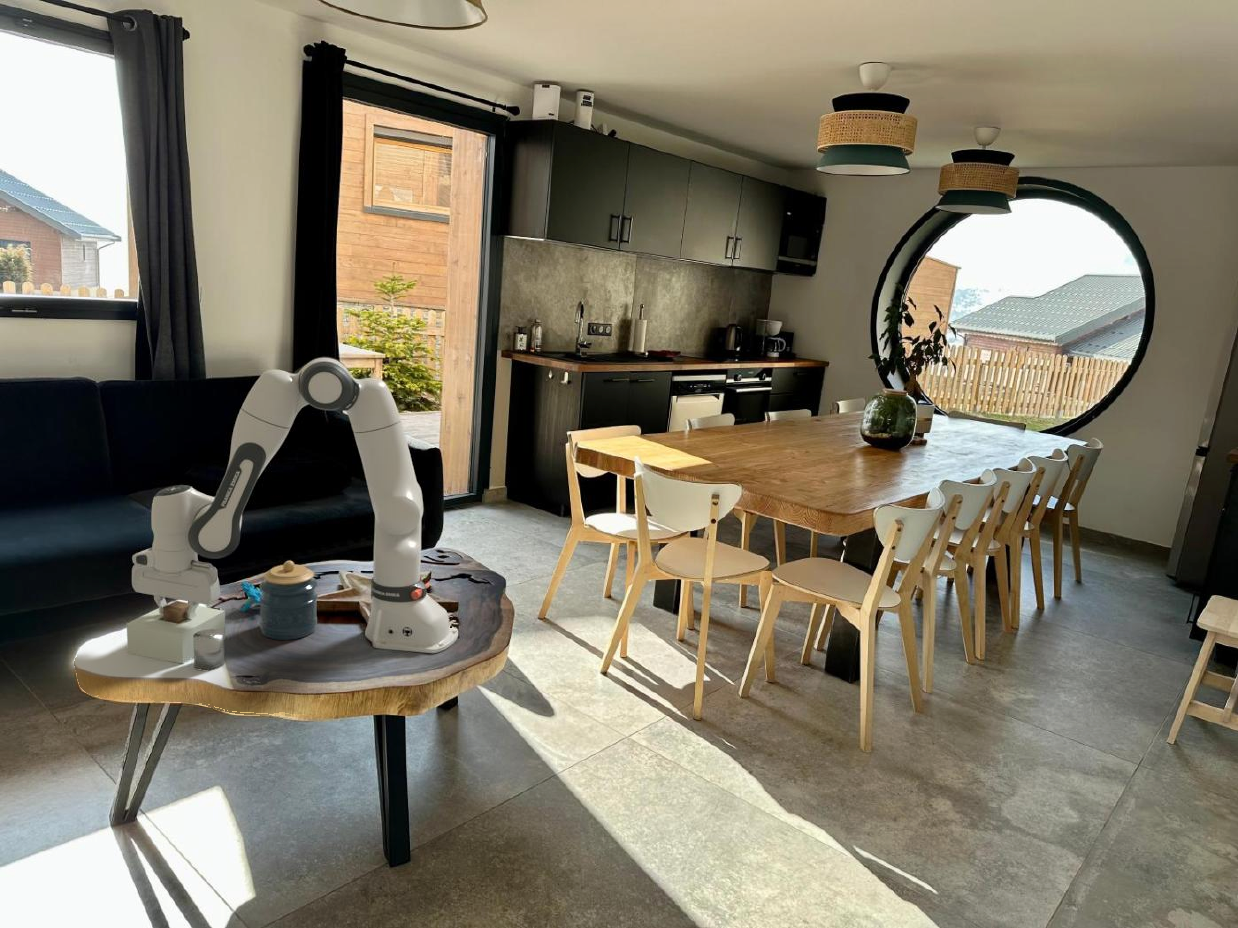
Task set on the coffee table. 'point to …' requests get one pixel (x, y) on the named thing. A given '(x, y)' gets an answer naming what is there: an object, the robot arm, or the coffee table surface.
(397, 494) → the robot arm
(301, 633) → the canister
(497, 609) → the coffee table surface
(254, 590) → the blue irregular piece
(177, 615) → the square bit
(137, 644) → the block
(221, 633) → the round bit
